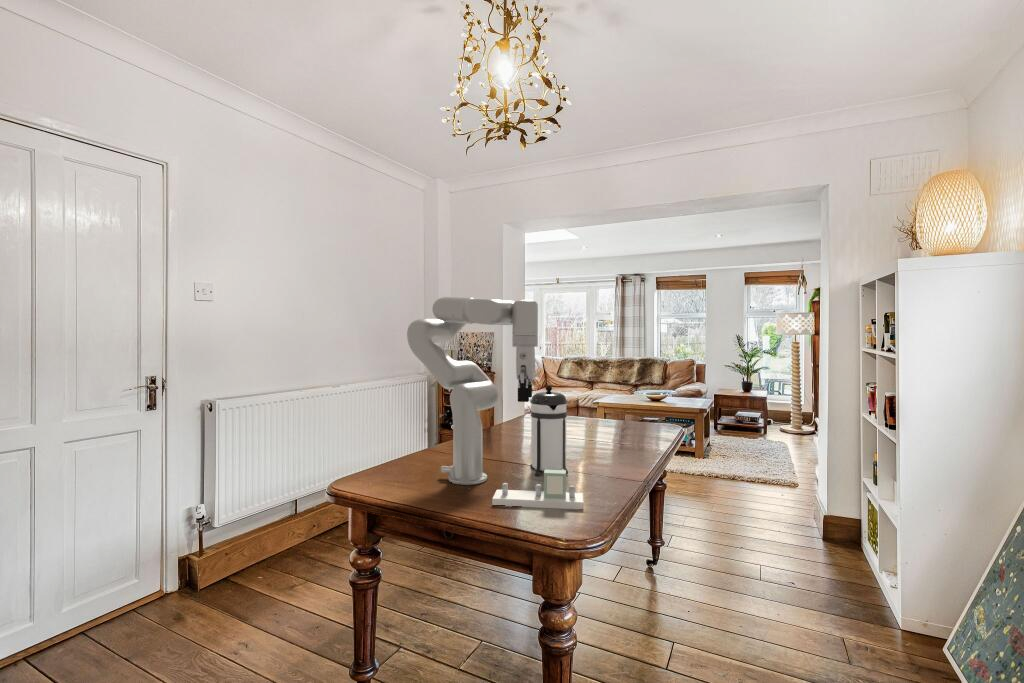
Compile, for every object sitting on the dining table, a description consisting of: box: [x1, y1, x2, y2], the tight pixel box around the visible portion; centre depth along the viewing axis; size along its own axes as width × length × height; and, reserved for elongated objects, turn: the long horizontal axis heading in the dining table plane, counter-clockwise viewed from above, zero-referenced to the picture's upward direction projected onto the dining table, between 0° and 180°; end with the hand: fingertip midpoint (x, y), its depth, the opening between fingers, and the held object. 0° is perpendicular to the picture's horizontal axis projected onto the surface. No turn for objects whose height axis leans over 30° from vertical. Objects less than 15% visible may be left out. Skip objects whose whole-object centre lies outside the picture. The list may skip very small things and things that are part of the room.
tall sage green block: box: [543, 469, 567, 499], centre depth 141 cm, size 6×4×7 cm, turn 83°
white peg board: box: [491, 482, 584, 510], centre depth 141 cm, size 25×8×5 cm, turn 83°
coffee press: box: [529, 384, 569, 477], centre depth 174 cm, size 17×16×30 cm
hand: (525, 399), depth 148 cm, fingers open, 9 cm apart
